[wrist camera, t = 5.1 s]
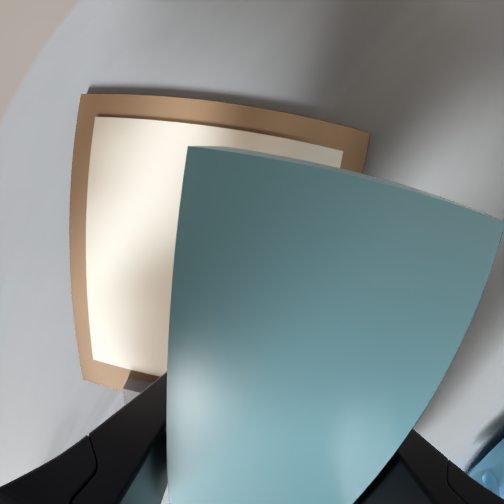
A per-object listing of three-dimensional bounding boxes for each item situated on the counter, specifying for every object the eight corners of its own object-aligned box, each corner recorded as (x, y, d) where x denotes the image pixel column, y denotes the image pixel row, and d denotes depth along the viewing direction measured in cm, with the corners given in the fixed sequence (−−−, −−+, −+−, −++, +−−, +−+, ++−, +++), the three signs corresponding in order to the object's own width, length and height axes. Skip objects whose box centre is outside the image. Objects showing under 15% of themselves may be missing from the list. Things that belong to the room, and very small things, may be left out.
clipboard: (367, 133, 12) (379, 132, 11) (288, 414, 17) (290, 432, 15) (85, 95, 11) (69, 91, 10) (85, 375, 16) (76, 390, 15)
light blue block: (225, 146, 7) (187, 146, 3) (394, 182, 7) (505, 222, 3) (189, 446, 10) (171, 539, 6) (296, 458, 10) (305, 549, 6)
